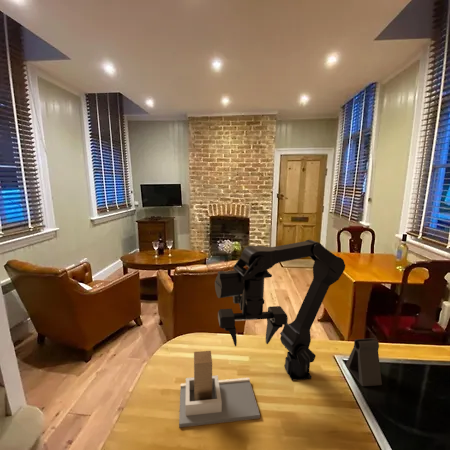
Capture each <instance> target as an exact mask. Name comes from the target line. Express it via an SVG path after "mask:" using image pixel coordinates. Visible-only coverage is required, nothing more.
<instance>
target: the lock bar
mask: <svg viewBox="0 0 450 450" xmlns="http://www.w3.org/2000/svg"><path fill="white" fill-rule="evenodd" d="M212 356H213V355H212V351H211V350H204V351H203V350H202V351H201V350H199V351H193V377H194V401H200V400H210V399H212V376H213V357H212Z"/></svg>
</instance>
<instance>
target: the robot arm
mask: <svg viewBox="0 0 450 450" xmlns="http://www.w3.org/2000/svg"><path fill="white" fill-rule="evenodd" d="M303 258H310V259H311V260H312V261H313V265H312V275H313V278H312V281H311V283H310V286H309V287H308V290H307V292H306V294H305V297H304V299H303V301H302V302H301V303H302V304H301V306H300V307H299V309H298V311H297V314H296V317H295V318H294V320H293V321H292V322H290V323H288V314H287V313H286V311H285V310H284V309H283V307H282V306H280V305H277V306H276V305H275V306H274V305H273V306H268V307H267V311H264V305H265V299H264V296H265V295H264V293H265V290H264V289H265V279H268V278H272V277H273V274H272V273H270V272H269V271H268V270H270V269H271V268H273V267H274V266H276V265H277V264H279V263H284V262H289V261H293V260H299V259H303ZM245 267H247V268H245ZM232 269H233V270H227V271H226V270H225V271H223V270H220V271H219V270H218V271H217V276H216V277H215V280H214V289H215V294H216V297H217V298H218V299H222V298H230V297H232V303H233V304H235V305H236V304H238V305H239V309H240V311H241V312H236V313H234V311H233V309H232V308H220V309H219V310H218V311H217V320H218V324H219V328H220V329H222V330H223V329H224V331H225V332H229V334H230V336H231V339H232V342H233V346H234V347H237V345H238V344H237V343H238V342H237V341H238V340H237V328H236V322H241V321H242V322H244V321H257V320H266V330H265V331H266V332H265V343H266V345H268V344H270V342H271V340H272V338H273V337H274V335H275V334H276V333H277V332H278V330H279V329H280V328H283V329H282V330H281V331H280V333H279V334H280V342H281V344H282V346H284V348H285V349H286V350H287V354H286V355H287V356H285V362H284V366H283V367H284V370H285V371H286V373H287V374H288V377H289V379H290V380H291V381H301V380H303V381H304V380H311V379H312V374H311V373H310V367H311V363H313V362H315V359H316V354H315V353H314V352H313V351H312V350H311V349H310V345H311V341H312V340H311V339H312V338H311V328H312V326H313V323H314V322H315V319H316V317H317V315H318V313H319V311H320V308H321V306H322V304H323V302H324V299H325V297H326V295H327V293H328V291H329V289H330V287H331V285H333V284H335V283H337V281H339V280H340V278H341V277H342V275H343V273H344V271H345V269H346V264H345V261H344V259H343V258H342V257H340V256H337V255H335V254H334V253H332V252H331V251H330V250H329V249H328V248H326V247H325V246H324V245H323V244H321V242H318V241H315V240H313V239H306V240H305V241H299V242H293V243H287V244H283V245H277V246H264V245H248V246H246V247H244V249H243V250H242V252H241V255H240V257H239V259H237V261H236V263H234V265H233V267H232Z"/></svg>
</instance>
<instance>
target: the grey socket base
mask: <svg viewBox="0 0 450 450" xmlns="http://www.w3.org/2000/svg"><path fill="white" fill-rule="evenodd" d="M179 389H180V390H179V391H180V395H179V416H178V417H179V418H178V421H179V424H178V425H179V426H178V427H179V428H186V427H196V426H205V425H213V424H222V423H223V424H224V423H231V422H232V423H233V422H239V421H247V420H257V419H261V414H260V411H259V407H258V404H257V401H256V397H255V394H254V391H253V387H252V384H251V379H250V377H239V378H229V379H219V375H218V374H217V375H212V399H210V400H200V401H194V376H193V377H186V378H185V382H182V383H180V388H179Z"/></svg>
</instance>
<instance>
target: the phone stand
mask: <svg viewBox="0 0 450 450" xmlns="http://www.w3.org/2000/svg"><path fill="white" fill-rule="evenodd" d="M353 341H354V342H353V343H354V344H353V348H352V349H351V352H350V354H349V356H348V358H347V361H346V363H345V367H346V368H347V367H348V368H347V369H348V370H349V371H350V373H351V374H352V376H354V378H355V379H356V380H357V382H358V384H360V385H361V386H362V387H373V386H374V387H375V386H382V385H383V383H382V375H381V374H382V372H381V364H380V357H379V356H380V355H379V348H380V343H379V341H378V340H377V339H376V338H373V337H372V338H357V339H356V338H355V339H354V340H353Z"/></svg>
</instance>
